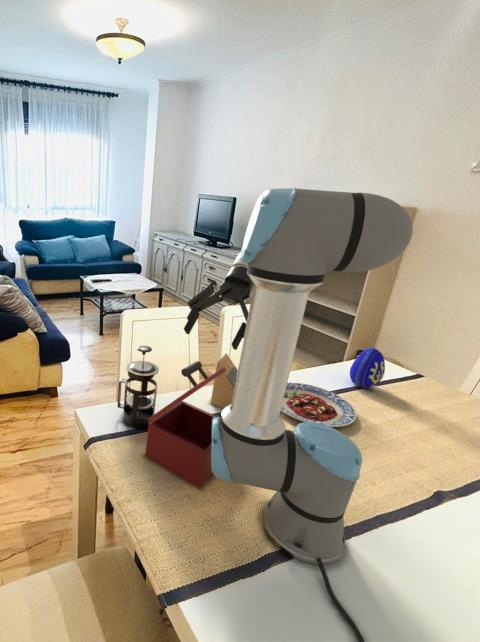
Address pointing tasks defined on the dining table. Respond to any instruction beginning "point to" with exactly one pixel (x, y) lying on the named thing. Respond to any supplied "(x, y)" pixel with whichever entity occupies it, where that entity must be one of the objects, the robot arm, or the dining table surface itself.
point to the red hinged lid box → (182, 442)
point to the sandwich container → (224, 383)
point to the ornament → (368, 368)
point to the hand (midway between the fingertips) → (208, 339)
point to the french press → (139, 392)
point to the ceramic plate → (317, 405)
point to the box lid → (187, 373)
